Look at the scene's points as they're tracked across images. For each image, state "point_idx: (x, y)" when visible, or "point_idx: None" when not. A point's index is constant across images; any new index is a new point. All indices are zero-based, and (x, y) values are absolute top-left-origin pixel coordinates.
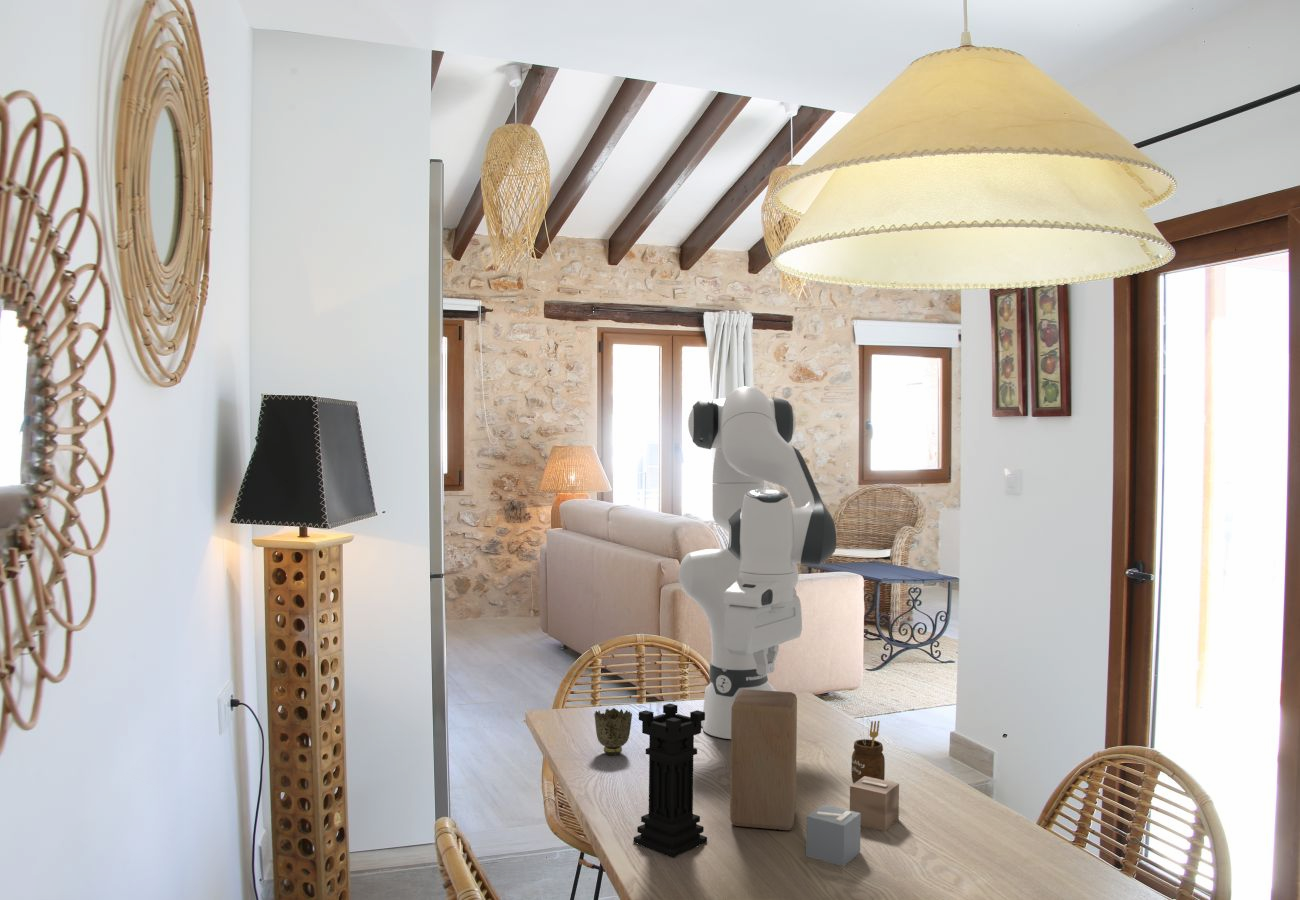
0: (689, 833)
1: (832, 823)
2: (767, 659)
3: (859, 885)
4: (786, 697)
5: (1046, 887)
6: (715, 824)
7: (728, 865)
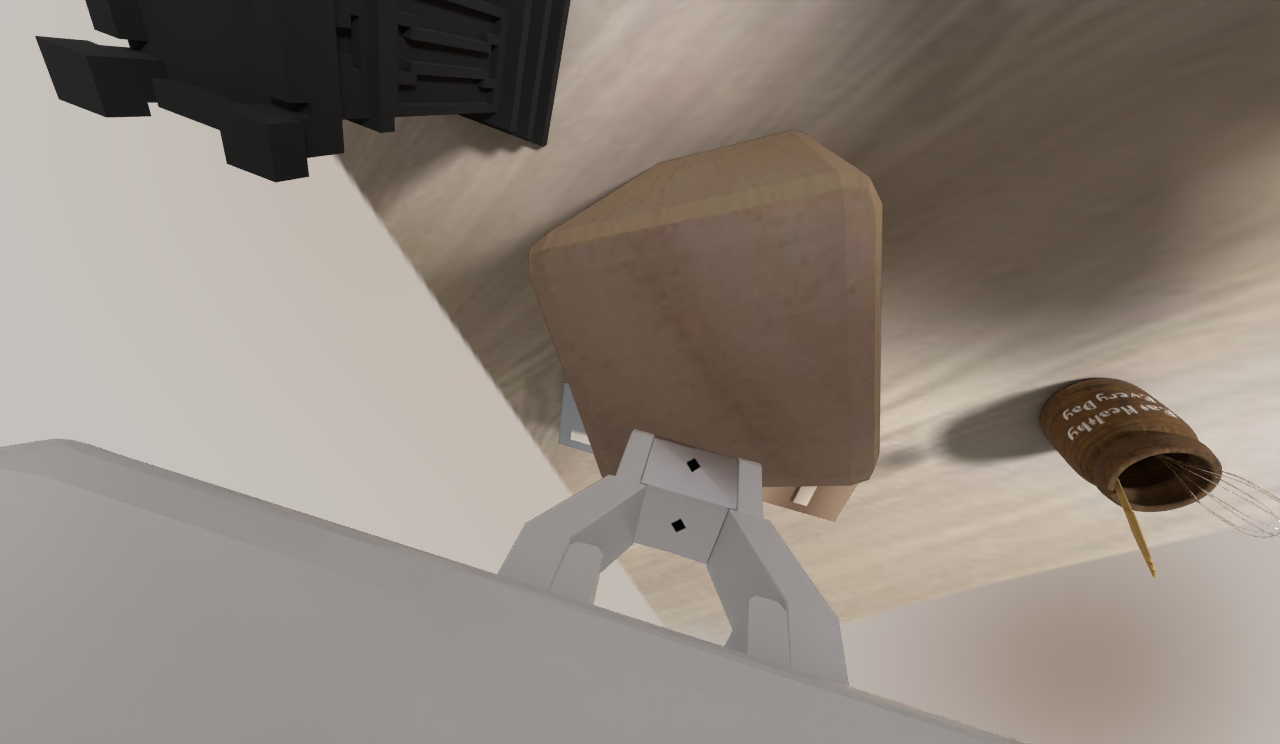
0: (477, 120)
1: (561, 424)
2: (723, 549)
3: (534, 425)
4: None
5: (645, 593)
6: (650, 121)
7: (478, 228)
